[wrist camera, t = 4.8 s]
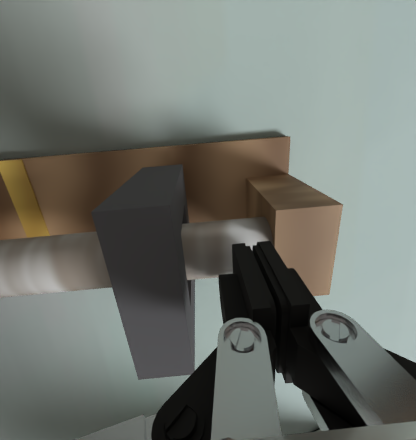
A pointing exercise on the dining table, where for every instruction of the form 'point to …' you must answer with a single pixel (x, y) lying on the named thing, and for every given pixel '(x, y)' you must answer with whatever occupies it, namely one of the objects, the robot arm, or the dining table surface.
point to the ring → (151, 269)
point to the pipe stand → (191, 232)
